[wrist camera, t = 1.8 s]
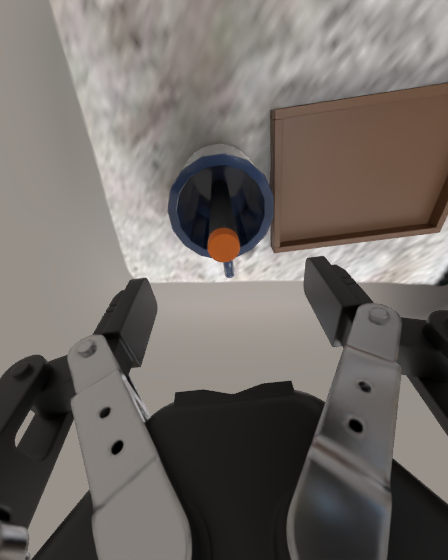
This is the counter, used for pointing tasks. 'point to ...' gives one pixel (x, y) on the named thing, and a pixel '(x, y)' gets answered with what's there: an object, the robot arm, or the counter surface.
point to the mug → (242, 190)
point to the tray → (360, 169)
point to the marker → (222, 225)
